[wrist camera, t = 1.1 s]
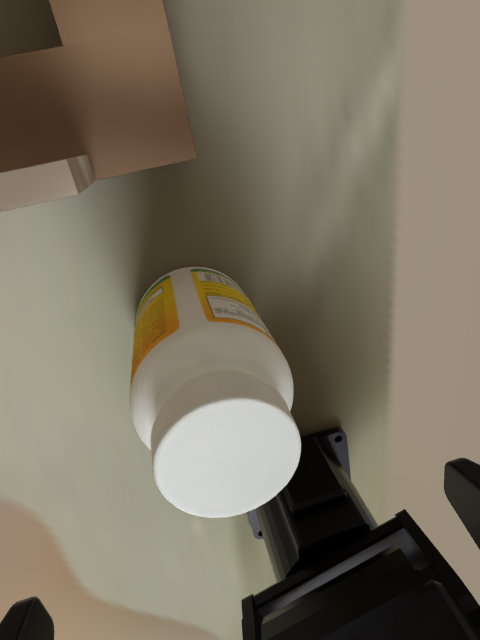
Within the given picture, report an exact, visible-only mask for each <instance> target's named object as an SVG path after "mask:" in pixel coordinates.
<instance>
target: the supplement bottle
mask: <svg viewBox="0 0 480 640" xmlns="http://www.w3.org/2000/svg"><path fill="white" fill-rule="evenodd" d="M134 328H135V329H134V346H133V360H132V373H131V386H130V412H131V417H132V421H133V424H134V427H135V429H136V431H137V433H138V435H139V437H140V438H141V440H142V441H143V442H144V444H145V445H146V446H147V447H148V448H149V449H150V450H151V452H152V467H153V474H154V478H155V481H156V484H157V486H158V488H159V490H160V491H161V493H162V494H163V496H164V497H165V498H166V499H167V500H168V501H169V502H170V503H171V504H173V505H174V506H175V507H177V508H179V509H180V510H182V511H184V512H186V513H189V514H193V515H196V516H201V517H210V518H218V517H230V516H235V515H239V514H242V513H246V512H248V511H251V510H253V509H256V508H257V507H259V506H261V505H263V504H265V503H266V502H268V501H269V500H271V499H272V498H273V497H274V496H276V495H277V494H278V493H279V492H280V491H281V490H282V489H283V488H284V487H285V486H286V485H287V484H288V482H289V481H290V479H291V478H292V476H293V474H294V472H295V470H296V468H297V466H298V463H299V459H300V454H301V439H300V434H299V431H298V428H297V425H296V423H295V421H294V419H293V417H292V415H291V413H290V411H291V408H292V403H293V395H294V387H293V379H292V374H291V371H290V367H289V365H288V363H287V360H286V359H285V357H284V355H283V353H282V352H281V350H280V348H279V346H278V345H277V344H276V342H275V340H274V339H273V337H272V336H271V334H270V333H269V331H268V329H267V328H266V326H265V325H264V323H263V321H262V320H261V318H260V317H259V315H258V314H257V312H256V310H255V309H254V307H253V305H252V304H251V302H250V301H249V299H248V298H247V296H246V295H245V293H244V292H243V290H242V289H241V288H240V287H239V285H238V284H237V283H236V282H235V281H234V280H232V279H231V278H230V277H228V276H227V275H225V274H223V273H221V272H219V271H217V270H214V269H211V268H206V267H185V268H180V269H177V270H174V271H172V272H169V273H167V274H165V275H163V276H162V277H160V278H159V279H158V280H156V281H155V282H154V283H153V284H152V285H151V287H150V288H149V289H148V290H147V291H146V293H145V294H144V296H143V297H142V299H141V301H140V303H139V306H138V309H137V312H136V318H135V325H134Z"/></svg>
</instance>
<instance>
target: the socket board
mask: <svg viewBox="0 0 480 640" xmlns="http://www.w3.org/2000/svg"><path fill="white" fill-rule="evenodd" d="M49 2H50V6H51V9H52V12H53V15H54V18H55V21H56V25H57V28H58V31H59V34H60V37H61V40H62V44H63V46H60V47H54V48H49V49H43V50H37V51H32V52H26V53H21V54H15V55H9V56H4V57H0V212H2V211H7V210H11V209H16V208H20V207H25V206H29V205H34V204H38V203H43V202H47V201H52V200H57V199H61V198H66V197H70V196H75V195H79V194H80V193H81V192H82V191H84V190H85V189H86V188H87V187H88V186H90V185H91V184H92V183H93V182H94V181H96V180H100V179H104V178H109V177H113V176H118V175H123V174H127V173H132V172H136V171H141V170H146V169H150V168H155V167H159V166H164V165H169V164H173V163H178V162H183V161H187V160H192V159H196V158H197V155H196V151H195V146H194V142H193V137H192V133H191V128H190V123H189V119H188V114H187V110H186V105H185V100H184V96H183V91H182V87H181V82H180V77H179V73H178V68H177V64H176V59H175V55H174V50H173V45H172V41H171V36H170V32H169V27H168V22H167V18H166V13H165V9H164V4H163V0H49Z"/></svg>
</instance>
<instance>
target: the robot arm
mask: <svg viewBox="0 0 480 640" xmlns="http://www.w3.org/2000/svg"><path fill="white" fill-rule="evenodd" d="M338 435H339V436H338ZM336 436H338V437H337V438H335V437H336ZM300 439H301V454H300V459H299V463H298V466H297V468H296V470H295V472H294V474H293V476H292V478H291V479H290V481H289V482H288V484H287V485H286V486H285V487H284V488H283V489H282V490H281V491H280V492H279V493H278V494H277V495H276V496H274V497H273V498H272V499H271V500H269V501H268V502H266V503H265V504H263V505H261V506H259V507H257V508H256V509H253V510H251V511H248V514H249V518H250V522H251V526H252V529H253V533H254V536H255V538H257V539H264V541H265V544H266V548H267V551H268V554H269V558H270V561H271V564H272V567H273V571H274V574H275V577H276V581H277V583H276V584H274V585H272V586H270V587H268V588H267V589H265V590H263V591H261V592H259V593H258V594H256V595H253V594H251V595H250V596H248V597H246V598H244V599H242V614H243V619H242V633H243V640H480V606H479V604H478V603H477V601H476V600H475V599H474V597H473V596H472V594H471V593H470V592H469V590H468V589H467V587H466V586H465V585H464V583H463V582H462V580H461V579H460V578H459V576H458V575H457V574H456V573H455V571H454V570H453V569H452V568H451V566H450V565H449V564H448V562H447V561H446V560H445V559H444V557H443V556H442V555H441V554H440V552H439V551H438V550H437V549H436V547H435V546H434V545H433V544H432V543H431V541H430V540H429V539H428V537H427V536H426V535H425V534H424V532H423V531H422V530H421V529H420V527H419V526H418V525H417V524H416V523H415V521H414V520H413V519H412V518H411V516H410V515H409V514H408V513H407V511H406V510H405V509H404V510H402V511H400V512H398V513H397V514H395V517H394V518H392V519H390V520H389V521H387V522H385V523H383V524H381V525H380V526H378V524H377V522H376V521H375V519H374V517H373V516H372V514H371V513H370V511H369V509H368V508H367V506H366V504H365V503H364V501H363V500H362V498H361V496H360V495H359V493H358V491H357V490H356V488H355V486H354V485H353V483H352V482H351V478H350V467H349V457H348V447H347V436H346V434H345V432H344V431H343V430H342V429H341V428H338V427H337V428H333V429H329V430H326V431H323V432H320V433H316V434H313V435H310V436H306V437H303V438H300ZM444 490H445V494H446V496H447V498H448V500H449V502H450V503H451V505H452V506H453V508H454V509H455V511H456V513H457V514H458V516H459V517H460V519H461V521H462V522H463V524H464V525H465V527H466V529H467V530H468V532H469V533H470V535H471V537H472V538H473V540H474V541H475V543H476V544H477V546H478V548H479V549H480V465H479V464H477V463H475V462H472V461H470V460H468V459H466V458H459V459H455V460H452V461H449V462H447V463H446V465H445V473H444ZM0 640H54V624H53V620H52V618H51V616H50V615H49V613H48V612H47V610H46V609H45V607H44V605H43V604H42V602H41V601H40V599H39V598H37V597H35V596H34V597H30V598H27V599H24V600H21V601H18V602H16V603H15V604H14V605H13V606H12V607H11V608H10V609H9V611H8V612H7V614H6V615H5V617H4V618H3V620H2V621H1V623H0Z"/></svg>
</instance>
